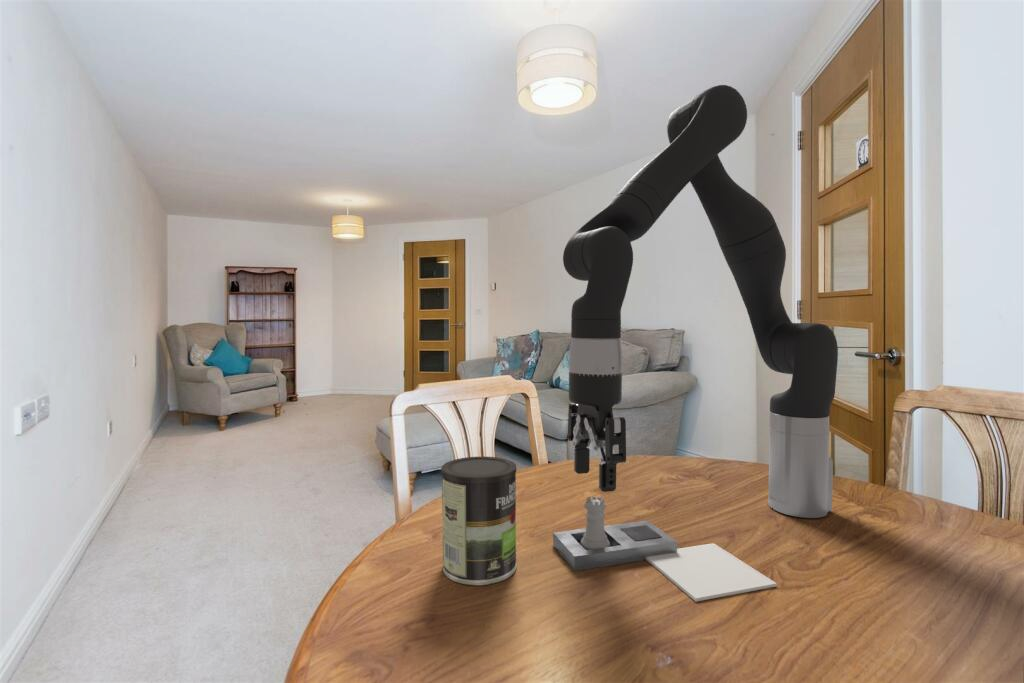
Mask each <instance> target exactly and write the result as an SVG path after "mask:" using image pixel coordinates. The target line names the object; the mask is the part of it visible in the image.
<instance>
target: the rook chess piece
mask: <svg viewBox="0 0 1024 683" xmlns="http://www.w3.org/2000/svg"><path fill="white" fill-rule="evenodd" d="M596 498H597V499H596ZM583 507H584V508H585V509H586V514H585V517H586V526H585V528H586V531H585V534H584V535H583V536H584V537H583V538H582V539H581V542H580V544H581V546H582V547H583V548H584V549H585V550H591V549H598V548H605V547H610V542H609V540H608V539H607V536H606V534H605V529H604V526H605V523H604V522H605V521H604V520H605V518H606V515H605V514H604V512H605V510H606V509H607V507H608V506H607V504H606V503H605V498H602V496H598V497H596V496H595V495H593V496H592V498H591V496H587V498H586V501H585V503H584V504H583Z"/></svg>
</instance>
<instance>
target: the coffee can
mask: <svg viewBox="0 0 1024 683" xmlns="http://www.w3.org/2000/svg"><path fill="white" fill-rule="evenodd" d="M440 473H441V477H442V478H441V481H442V485H441V487H442V489H441V491H442V493H441V496H442V497H441V499H442V560H443V561H442V572H443V574H444V576H446V578H447V579H450V580H451V581H453V582H455V583H458V584H462V585H465V586H467V585H468V586H487V585H493V584H497V583H500V582H503V581H505V580H507V579H509V578H510V577H511V576H513V575H514V574H515V572H516V570H517V533H516V532H517V531H516V530H517V525H516V524H517V521H516V520H517V515H516V513H517V508H516V507H517V494H516V493H517V492H516V491H517V490H516V489H517V488H516V487H517V485H516V484H517V482H516V478H517V476H516V475H517V465H516V463H515V462H514V461H512V460H509V459H506V458H502V457H496V456H468V457H460V458H457V459H453V460H450V461H447V462H445V463H443V464H442V465H441V467H440Z"/></svg>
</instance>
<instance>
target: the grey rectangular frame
mask: <svg viewBox="0 0 1024 683" xmlns="http://www.w3.org/2000/svg"><path fill="white" fill-rule="evenodd" d="M604 529H605V534H606V536H607V539H608V540H609V542H610V547H605V548H598V549H591V550H585V549H584V548H583V547H582V546H581V544H580V542H581V539H582V538H583V537H584V536H583V535H584V534H585V531H586V527H585V528H579V529H570V530H563V531H556V532H553V533H552V535H553V536H552V539H553V540H552V541H553V542H552V546H553V547H554V549H555V550H556V551H557V552H558V553H559V555H561V557H562V558H563V559H564V560H565V562H566V563H567V564H568V565H569V567H570V568H571V569H572V570H573V571H574V572H576V571H577V572H578V571H582V570H583V571H584V570H590V569H596V568H597V569H598V568H603V567H609V566H614V565H615V566H616V565H621V564H629V563H634V562H641V561H647V560H646V557H650V556H657V555H663V554H670V553H676V552H677V549H678V541H677V540H676V539H674V538H673V537H672V536H670V535H669V534H668V533H666V532H665V531H663V530H661V528H659V527H657V526H656V525H655V524H653V523H652V522H650V521H648V519H646V520H639V521H638V520H637V521H631V522H625V523H617V524H615V523H614V524H609V525H604Z"/></svg>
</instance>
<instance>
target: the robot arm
mask: <svg viewBox="0 0 1024 683" xmlns="http://www.w3.org/2000/svg"><path fill="white" fill-rule="evenodd" d="M747 119H748V109H747V105H746V101H745V99H744V98H743V96H742V94H741V92H739V91H738V90H737V89H736V88H734V87H732V86H731V85H728V84H727V85H726V84H719V85H715V86H712V87H709V88H707V89H706V90H704V91H702V92H700V93H698V94H697V95H696V96H694V97H692V98H690V100H687V101H686V102H685V103H683V104H682V105H680V106H679V107H677V108H676V109H675V110H673V111H672V112H671V113H670V115H669V116H668V119H667V124H666V134H667V138H668V142H669V145H667V146H666V147H665V148H664V149H663V150H662V151H661V152H659V153H658V154H657V155H656V156H655V157H653V158H652V159H651V160H650V161H648V163H646V164H645V165H644V166H643V167H642V168H640V169H639V170H638V171H637V172H636V173H635V174H634V175H633V176H632V177H630V179H629V180H628V181H627V182H626V183H625V185H624V186H622V188H621V190H619V191H618V193H617V194H615V196H614V197H613V198H612V200H611V201H610V203H609V204H608V205H607V206H606V207H605V208H603V209H602V210H601V211H599V212H598V213H597V214H595V215H594V216H593V217H592V218H590V220H588V221H587V222H585V224H583V225H582V226H581V227H580V228H578V229H577V231H575V232H574V234H573V235H572V236H571V237H570V238H569V240H568V241H567V243H566V245H565V247H564V250H563V254H562V262H563V267H564V269H565V271H566V273H568V275H569V276H570V277H571V278H573V279H575V280H577V281H582V282H584V281H585V282H587V284H586V285H587V286H586V289H585V292H584V294H583V295H582V296H580V297H578V298H577V299H576V300H574V302H572V306H571V313H570V314H571V316H570V317H571V322H570V324H571V325H570V326H571V327H570V328H571V329H570V331H571V332H570V334H571V335H570V337H571V339H570V347H569V353H568V355H569V357H568V400H569V401H570V403H569V404H568V419H567V441H568V442H571V445H572V448H574V459H573V460H574V465H573V466H574V468H573V471H574V472H575V473H576V474H578V475H581V474H589V472H590V459H591V458H590V452H591V451H590V448H589V447H590V446H591V447H592V449H593V451H594V450H595V451H596V454H597V457H598V461H599V465H598V467H599V468H598V470H599V472H598V474H599V476H598V479H599V480H598V489H599V490H600V491H601V492H603V493H604V492H605V493H606V492H607V493H609V492H614V491H616V489H617V465H618V464H620V463H621V464H622V463H626V462H627V429H626V428H627V427H626V426H627V425H626V422H627V420H626V419H625V417H624V416H621V417H620V416H619V417H614V411H613V407H614V406H616V405H619V404H620V403H621V401H622V396H623V395H622V392H623V388H622V387H623V386H622V383H623V350H622V339H621V337H622V336H621V334H622V331H621V330H622V316H621V315H622V314H621V313H622V308H623V304H624V301H625V298H626V294H627V290H628V285H629V282H630V278H631V274H632V271H633V270H632V269H633V265H634V264H633V262H634V251H633V250H634V249H633V247H632V242H635V241H637V240H639V239H641V238H642V237H643V236H645V235H646V234H647V232H648V231H649V230H650V229H651V228H652V227H653V225H655V223H656V222H657V221H658V220H659V219H660V216H662V214H664V212H665V211H666V209H667V208H668V207H669V206H670V205H671V203H672V202H673V201H674V200H675V199H676V198H677V197H678V195H680V193H681V191H683V189H684V188H686V186H687V185H688V184H689V183H690V184H691V186H692V188H693V190H694V191H695V193H696V196H697V197H698V199H699V201H700V203H701V206H702V207H703V209H704V213H705V214H706V217H707V218H708V221H709V223H710V225H711V227H712V230H713V232H714V235H715V237H716V240H717V243H718V245H719V247H720V249H721V252H722V254H723V258H724V259H725V262H726V264H727V266H728V268H729V270H730V272H731V274H732V277H733V279H734V280H735V283H736V286H737V288H738V291H739V294H740V296H741V299H742V302H743V303H744V306H745V309H746V312H747V314H748V317H749V321H750V324H751V327H752V332H753V335H754V337H755V338H754V339H755V341H756V345H757V348H758V351H759V354H760V356H761V358H762V360H763V362H764V363H765V365H766V366H767V367H768V368H769V369H770V370H772V371H774V372H776V373H781V374H785V375H791V376H792V377H791V382H790V387H789V388H788V389H787V390H785V391H783V392H779V393H776V394H774V395H771V397H770V400H769V436H768V437H769V440H768V441H769V443H768V444H769V445H768V450H769V452H768V503H769V504H768V503H767V504H768V506H769V508H771V509H772V508H773V509H772V510H774V511H776V512H778V513H781V514H784V515H787V516H792V517H796V518H797V517H798V518H805V519H819V518H824V517H826V516H827V515H828V513H829V511H832V512H833V487H834V486H833V483H834V482H833V479H834V478H833V477H834V473H833V472H834V460H833V458H832V457H831V456H830V414H831V406H832V404H833V401H834V398H835V394H836V384H837V383H836V382H837V374H838V373H837V371H838V361H839V360H838V358H839V347H838V342H837V337H836V335H835V333H834V331H833V330H832V329H831V328H830V327H829V326H828V325H826V324H823V323H817V322H792V321H791V319H790V317H789V315H788V313H787V310H786V308H785V305H784V303H783V299H782V295H781V294H782V293H781V286H782V280H783V277H784V272H785V267H786V260H787V258H786V257H787V252H786V251H787V249H786V246H785V242H784V240H783V237H782V235H781V232H780V230H779V228H778V225H777V222H776V220H775V218H774V216H773V214H772V212H771V211H770V210H769V209H768V207H766V206H765V204H764V203H763V202H761V201H760V200H758V199H757V197H755V196H753V195H752V194H750V193H749V192H748V191H747V190H745V189H744V188H743V187H741V186H740V184H738V183H736V182H735V181H734V180H733V179H732V177H731V176H730V175H729V173H728V172H727V170H726V169H725V166H724V164H723V163H722V161H721V158H720V156H719V154H720V153H721V152H723V150H725V149H726V148H727V147H728V146H730V145H732V144H733V142H735V141H736V140H737V139H738V138H739V137H740V136H741V135H742V133H743V132H744V130H745V127H746V125H747V122H748V120H747ZM617 446H618V450H617Z"/></svg>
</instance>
